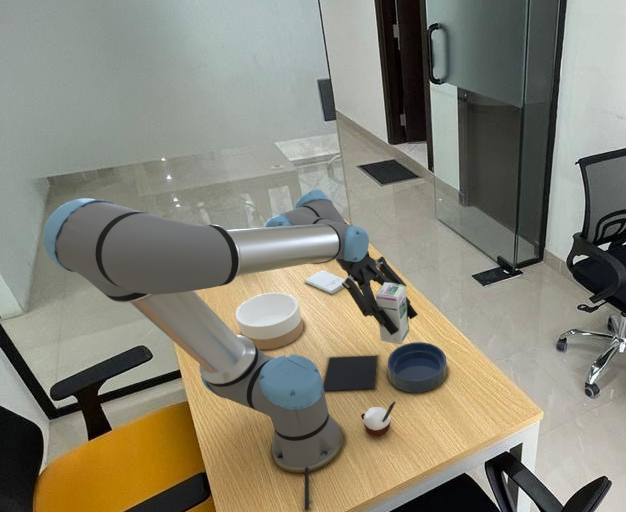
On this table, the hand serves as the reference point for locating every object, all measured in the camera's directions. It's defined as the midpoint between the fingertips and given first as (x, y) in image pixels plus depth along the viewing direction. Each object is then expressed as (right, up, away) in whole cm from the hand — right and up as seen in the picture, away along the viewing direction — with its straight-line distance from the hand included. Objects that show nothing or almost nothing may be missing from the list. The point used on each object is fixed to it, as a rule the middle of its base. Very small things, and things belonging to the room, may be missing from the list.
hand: (404, 324), depth 123 cm
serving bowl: (+2, -14, +13) cm, 19 cm away
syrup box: (-3, -3, +5) cm, 6 cm away
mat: (-16, -14, +12) cm, 24 cm away
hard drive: (-34, +13, +48) cm, 60 cm away
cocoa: (-5, -26, -4) cm, 27 cm away
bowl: (-43, -3, +26) cm, 50 cm away
